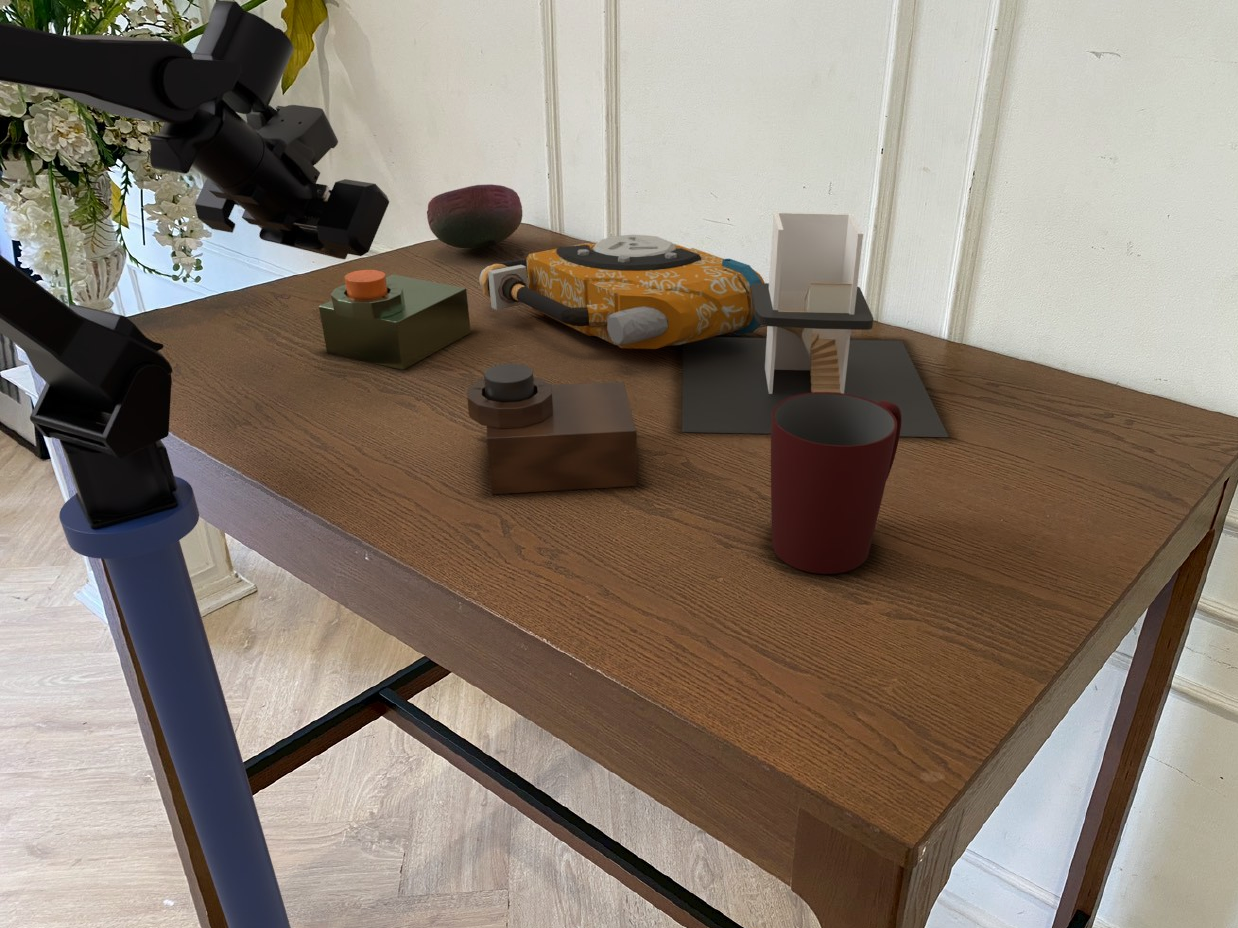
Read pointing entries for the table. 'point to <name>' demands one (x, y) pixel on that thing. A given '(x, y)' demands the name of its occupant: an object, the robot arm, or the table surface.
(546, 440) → the walnut block
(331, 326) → the green block
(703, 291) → the device
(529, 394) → the black button
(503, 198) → the bowl
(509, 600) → the table surface
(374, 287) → the orange button
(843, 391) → the dark square-based piece
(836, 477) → the mug
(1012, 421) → the table surface
